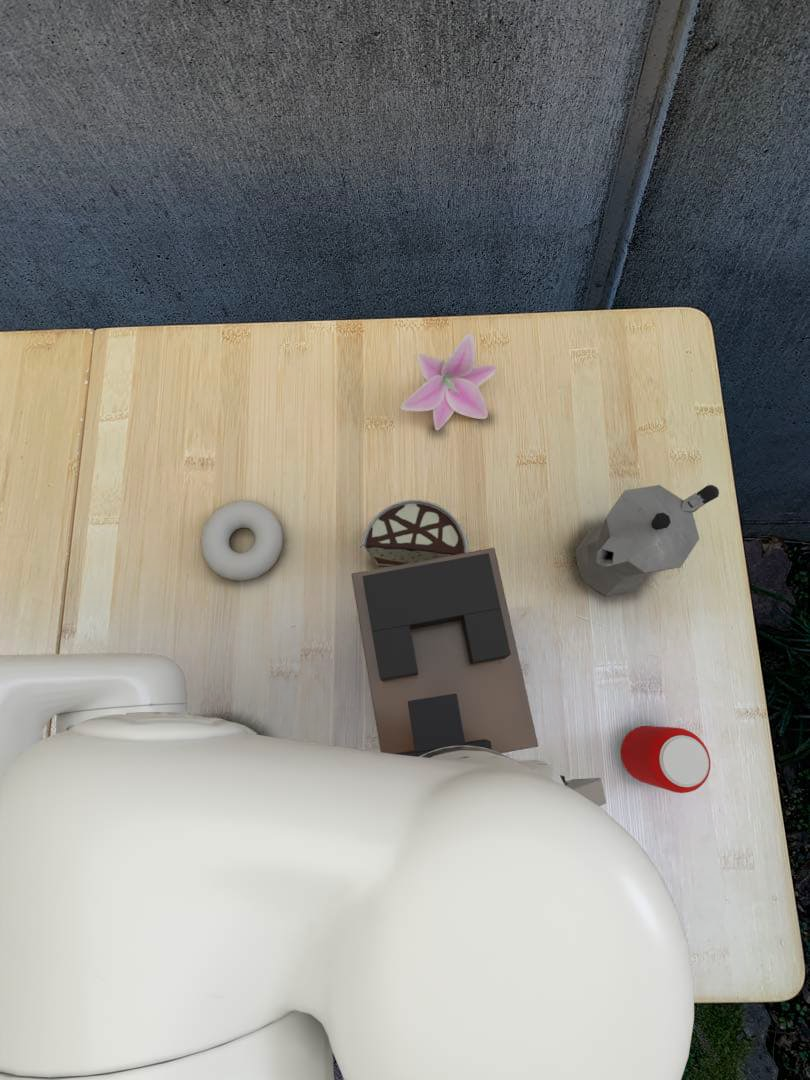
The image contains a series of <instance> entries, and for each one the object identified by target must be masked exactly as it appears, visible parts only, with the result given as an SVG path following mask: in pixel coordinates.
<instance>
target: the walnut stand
mask: <svg viewBox="0 0 810 1080" xmlns="http://www.w3.org/2000/svg"><path fill="white" fill-rule="evenodd" d="M486 553H489V556H490V561H491V566H492V570H493V575H494V579H495V584H496V588H497V593H498V598H499V602H500V607H501V611H502V616H503V620H504V625H505V629H506V634H507V639H508V643H509V648H510V652H511V655H510V656H508V657H506V658H503V659H498V660H493V661H487V662H482V663H477V664H470V661H469V656H468V651H467V646H466V641H465V636H464V631H463V626H462V621H461V620H458V621H453V622H448V623H442V624H437V625H431V626H426V627H421V628H415V629H410V631H411V636H412V642H413V647H414V653H415V658H416V664H417V669H418V675H413V676H407V677H402V678H397V679H391V680H386V681H382V680H380V677H379V671H378V665H377V659H376V653H375V648H374V642H373V636H372V630H371V624H370V618H369V612H368V606H367V600H366V595H365V589H364V583H363V576H365V575H371V574H376V573H382V572H387V571H393V570H398V569H404V568H409V567H415V566H420V565H426V564H431V563H437V562H442V561H448V560H453V559H459V558H464V557H469V556H475V555H480V554H486ZM501 576H502V575H501V570H500V566H499V561H498V557H497V553H496V549H495V547H490V548H485V549H479V550H474V551H473V550H472V551H470V552H467V553H462V554H456V555H451V556H445V557H440V558H434V559H429V560H423V561H418V562H412V563H407V564H401V565H396V566H385V567H380V568H375V569H368V570H363V571H358V572H353V573H351V581H352V586H353V587H352V588H353V592H354V599H355V604H356V605H355V606H356V610H357V611H356V612H357V617H358V622H359V628H360V635H361V640H362V641H361V642H362V647H363V653H364V659H365V665H366V671H367V677H368V683H369V691H370V694H371V701H372V707H373V714H374V720H375V725H376V730H377V737H378V743H379V749H380V752H382V753H390V754H395V753H401V752H407V751H413V750H415V748H414V741H413V734H412V728H411V721H410V715H409V708H408V701H411V700H418V699H424V698H430V697H436V696H443V695H449V694H457V698H458V704H459V709H460V715H461V721H462V727H463V733H464V739H465V742H470V741H476V740H482V739H486V740H489V741H490V742H491V746H492V750H493V751H496V752H499V753H501V754H506V753H510V752H517V751H522V750H527V749H531V748H532V749H533V748H537V747H539V742H538V738H537V733H536V729H535V725H534V720H533V715H532V711H531V706H530V702H529V698H528V693H527V689H526V684H525V679H524V675H523V671H522V667H521V662H520V661H521V660H520V657H519V653H518V647H517V643H516V638H515V635H514V629H513V626H512V621H511V616H510V611H509V607H508V603H507V598H506V593H505V589H504V585H503V580H502V577H501Z"/></svg>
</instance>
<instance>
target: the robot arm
mask: <svg viewBox="0 0 810 1080" xmlns="http://www.w3.org/2000/svg"><path fill="white" fill-rule="evenodd" d="M55 716H56V717H55ZM54 717H55V718H56V719H55V721H56V722H55V734H52V735H50V736H47V737H45V738H43V732H44V728H45V726H46V725H47V723H48V722H49V721H50V720H51V719H53V718H54ZM603 785H604V784H603V781H602V777H590V778H572V779H569V780H566V777H565V776H564V775H562V774H560V773H559V772H558V771H557V770H556V769H555V768H554V767H553V766H552V765H551V764H549V763H547V762H545V761H542V760H539V759H530V760H529V759H528V760H515V759H513V758H511V757H509V756H507V755H506V754H504V753H499V752H496V751H493V750H490V749H487V748H482V747H476V746H449V747H444V748H439V749H436V750H433V751H431V752H428V753H426V754H423V755H421V756H419V757H415V756H406V755H397V754H390V753H382V752H381V751H373V750H366V749H359V748H351V747H346V746H345V747H344V746H338V745H337V746H336V745H331V744H330V745H329V744H323V743H315V742H310V741H309V742H308V741H302V740H295V739H290V738H282V737H277V736H276V737H275V736H269V735H262V734H259V733H258V732H257V731H256V730H254V729H253V728H251V727H249V726H247V725H245V724H242V723H238V722H234V721H229V720H227V719H223V718H220V717H212V716H203V715H202V714H195V713H189V712H188V687H187V681H186V677H185V672H184V671H183V669H182V667H181V666H180V665H179V664H178V662H176V661H175V660H174V659H172V658H169V657H167V656H164V655H159V654H154V653H143V652H142V653H141V652H140V653H139V652H111V653H110V652H109V653H102V652H101V653H50V654H49V653H45V654H42V653H41V654H0V1080H335V1071H334V1070H335V1069H334V1059H335V1061H336V1064H337V1066H338V1069H339V1071H340V1073H341V1076H342V1078H343V1080H682V1078H683V1075H684V1073H685V1069H686V1066H687V1063H688V1059H689V1057H690V1056H689V1055H690V1050H691V1049H690V1048H691V1043H692V1037H693V1029H694V1022H695V976H694V971H693V964H692V960H691V952H690V947H689V942H688V938H687V935H686V932H685V929H684V926H683V923H682V919H681V916H680V913H679V911H678V908H677V905H676V903H675V901H674V898H673V896H672V894H671V892H670V890H669V888H668V886H667V884H666V882H665V880H664V878H663V876H662V875H661V873H660V871H659V870H658V868H657V866H656V865H655V863H654V862H653V861H652V859H651V857H650V856H649V855H648V853H647V852H646V851H645V850H644V848H643V846H642V845H641V844H640V843H639V842H638V841H637V839H636V838H635V837H634V836H633V835H632V834H631V833H630V832H629V831H628V830H627V829H626V828H625V827H623V825H621V824H620V823H619V822H618V821H617V820H616V819H615V818H614V817H612V815H610V814H609V813H608V812H607V811H606V810H605V809H604V808H602V807H601V806H604V805H606V804H607V800H606V795H605V790H604V786H603Z"/></svg>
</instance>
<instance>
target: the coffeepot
mask: <svg viewBox="0 0 810 1080" xmlns="http://www.w3.org/2000/svg"><path fill="white" fill-rule="evenodd" d="M719 495H720V491H719V489H718V487H717V486H716V485H713V484H708V485H706V486H705V487H703V488H702V489H700V490H699V491H697V492H694V493H693V494H691V495H690V496H688V497H686V498H685V499H682V498H680V497H679V496H678V495H676V494H674V493H673V492H671V491H670V490H668V489H666V488H665V487H664V486H662V485H661V484H657V485H651V486H650V485H649V486H644V487H638V488H637V487H636V488H632V489H624V491H623V492H622V494H621V495H620V496H619V497H618V499H617V501H616V502H615V504H614V505H613V506H612V508H611V510H610V511H609V512H608V514H607V516H606V517H605V519H604V522H603V523H602V524H599V525H595V526H593V527H591V528H589V529H588V531H587V533H585V536H584V537H583V538H582V540H581V541H580V542H579V544H578V545H577V547H576V548H575V550H574V555H575V560H576V566H577V569H578V572H579V573H578V574H579V577H580V578H579V579H580V580H581V581H583V583H585V584H586V585H588V586H589V587H591V588H592V589H593V590H595V591H597V592H598V593H600V594H601V595H603V596H604V597H605V598H606V597H607V598H608V597H613V596H620V595H625V594H631V593H636V591H638V589H639V587H640V586H641V584H642V582H643V581H644V580H645V579H646V577H647V575H648V574H653V573H657V572H663V571H668V570H674V569H679V568H682V567H683V565H684V563H685V562H686V560H687V558H688V557H689V556H690V554H691V553H692V551H693V549H694V548H695V547H696V545H697V543H698V542H699V540H700V535H699V532H698V529H697V525H696V521H695V516H694V513H695V512H696V511H698V510H699V509H700V508H702V507H704V505H706V504H708V503H710V502H711V501H713V500H715V499H717V498H718V497H719Z"/></svg>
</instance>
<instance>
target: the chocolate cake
mask: <svg viewBox="0 0 810 1080" xmlns="http://www.w3.org/2000/svg"><path fill="white" fill-rule="evenodd" d="M363 547H364V549H365V551H366V552H367V554H369V556H370V557H371V558H372V560H373V562H374V563H375V565H377V566H383V567H384V566H385V567H390V566H396V565H401V564H407V563H412V562H418V561H423V560H429V559H434V558H440V557H445V556H451V555H456V554H462V553H467V552H471V548H470V542H469V539H468V536H467V534H466V532H465V530H464V528H463V526H462V524H461V523H460V522H459V520H458V519H457V517H455V516H454V514H453V513H451V512H450V511H449V510H447V509H446V508H444V507H443V506H441V505H440V504H438V503H436V502H435V503H434V502H431V501H429V500H423V499H406V500H401V501H397V502H395V503H392V504H390V505H387V506H386V507H385V508H383V509H382V510H380V511H379V512H378V513H377V514H376V515H375V516H374V517H373V518H372V519H371V521H370V522H369V523H368V525H367V527H366V529H365V531H363V535H362V537H361V541H360V545H359V549H362V548H363Z"/></svg>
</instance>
